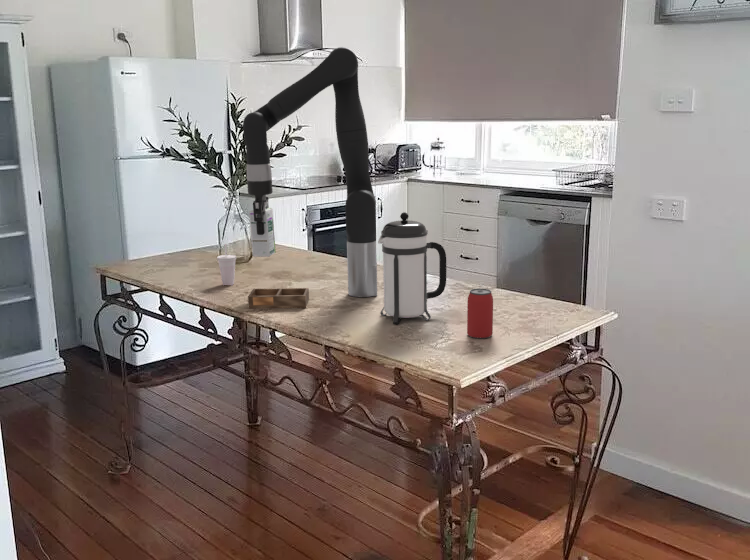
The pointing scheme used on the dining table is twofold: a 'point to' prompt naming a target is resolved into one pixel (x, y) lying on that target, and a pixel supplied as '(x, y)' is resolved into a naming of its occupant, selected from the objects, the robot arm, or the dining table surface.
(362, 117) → the robot arm
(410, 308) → the coffee press
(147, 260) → the dining table surface
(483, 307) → the beer can
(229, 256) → the smoothie
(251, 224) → the syrup box
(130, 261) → the dining table surface
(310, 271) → the dining table surface
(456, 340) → the dining table surface
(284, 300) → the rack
